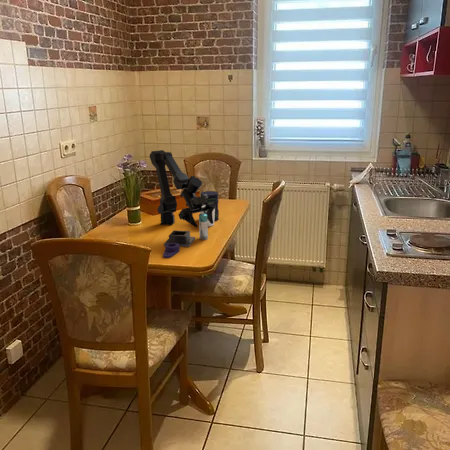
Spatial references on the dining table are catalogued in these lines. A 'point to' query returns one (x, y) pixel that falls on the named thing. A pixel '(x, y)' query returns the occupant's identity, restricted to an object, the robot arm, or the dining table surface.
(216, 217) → the storage jar
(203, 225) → the teal and silver cylinder
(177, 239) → the docking mount
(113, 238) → the dining table surface
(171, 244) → the lever
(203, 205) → the white cup
